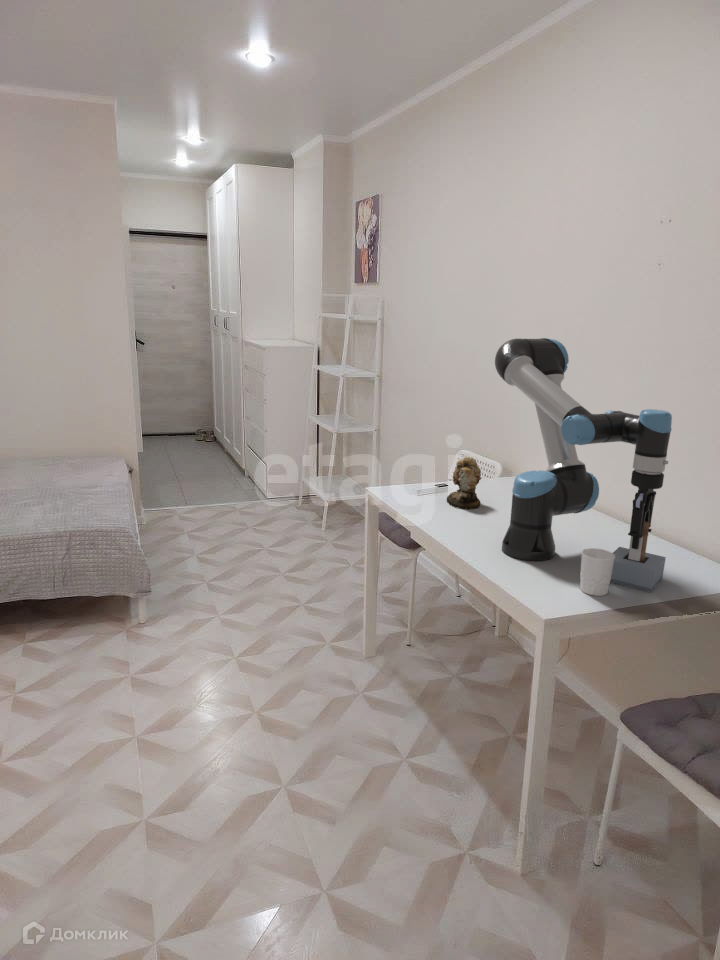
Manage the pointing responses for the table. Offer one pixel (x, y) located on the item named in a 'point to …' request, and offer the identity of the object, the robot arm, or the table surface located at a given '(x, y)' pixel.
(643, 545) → the walnut dowel
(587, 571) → the white cup
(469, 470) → the brown stone bust
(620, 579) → the socket block
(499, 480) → the table surface
